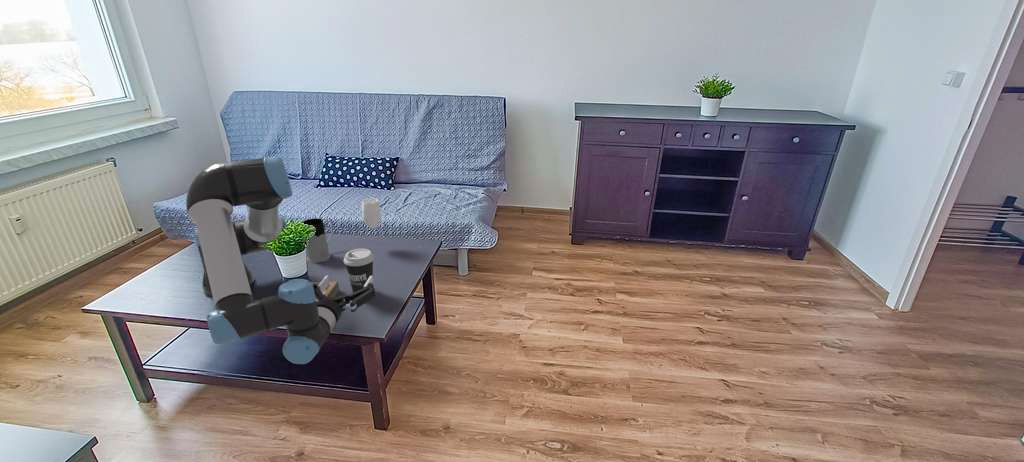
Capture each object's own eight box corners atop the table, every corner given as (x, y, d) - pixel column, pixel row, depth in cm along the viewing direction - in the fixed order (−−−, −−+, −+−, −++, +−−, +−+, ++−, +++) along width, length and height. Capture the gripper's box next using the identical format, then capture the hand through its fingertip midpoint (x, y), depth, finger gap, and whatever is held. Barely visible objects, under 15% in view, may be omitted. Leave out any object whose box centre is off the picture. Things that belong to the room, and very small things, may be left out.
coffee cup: (347, 289, 158) (341, 250, 152) (375, 284, 161) (371, 245, 155) (350, 303, 150) (344, 262, 144) (380, 297, 153) (375, 257, 147)
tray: (269, 315, 143) (267, 306, 142) (292, 289, 158) (290, 280, 156) (320, 316, 143) (318, 307, 141) (339, 290, 157) (337, 281, 156)
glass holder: (301, 260, 178) (294, 224, 172) (328, 246, 190) (322, 212, 184) (319, 264, 175) (312, 228, 169) (344, 249, 187) (339, 215, 181)
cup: (380, 253, 184) (375, 204, 176) (363, 252, 185) (357, 203, 177) (387, 245, 191) (382, 198, 183) (371, 244, 192) (365, 197, 183)
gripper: (278, 329, 124) (311, 289, 144) (370, 330, 124) (391, 290, 143) (273, 305, 121) (307, 268, 141) (367, 306, 121) (388, 268, 140)
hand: (349, 279), depth 142 cm, fingers open, 13 cm apart
